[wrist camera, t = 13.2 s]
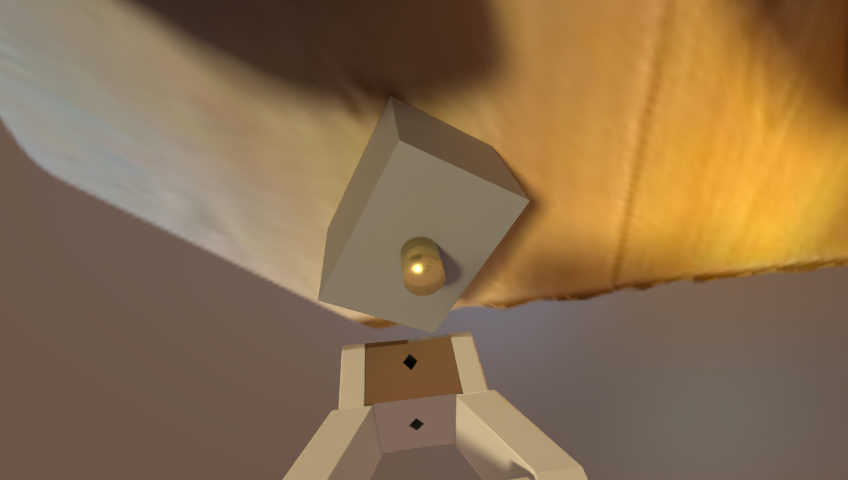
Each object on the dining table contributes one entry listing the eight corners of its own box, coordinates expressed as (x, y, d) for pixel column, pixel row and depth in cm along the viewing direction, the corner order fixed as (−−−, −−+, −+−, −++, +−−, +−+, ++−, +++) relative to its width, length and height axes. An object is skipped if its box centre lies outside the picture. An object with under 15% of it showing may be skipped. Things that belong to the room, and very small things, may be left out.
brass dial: (438, 234, 37) (445, 261, 34) (438, 265, 39) (445, 293, 36) (399, 238, 37) (402, 265, 34) (401, 269, 39) (404, 298, 36)
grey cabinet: (492, 146, 47) (529, 200, 36) (420, 261, 55) (433, 333, 44) (390, 95, 42) (399, 140, 32) (327, 228, 50) (318, 300, 40)
